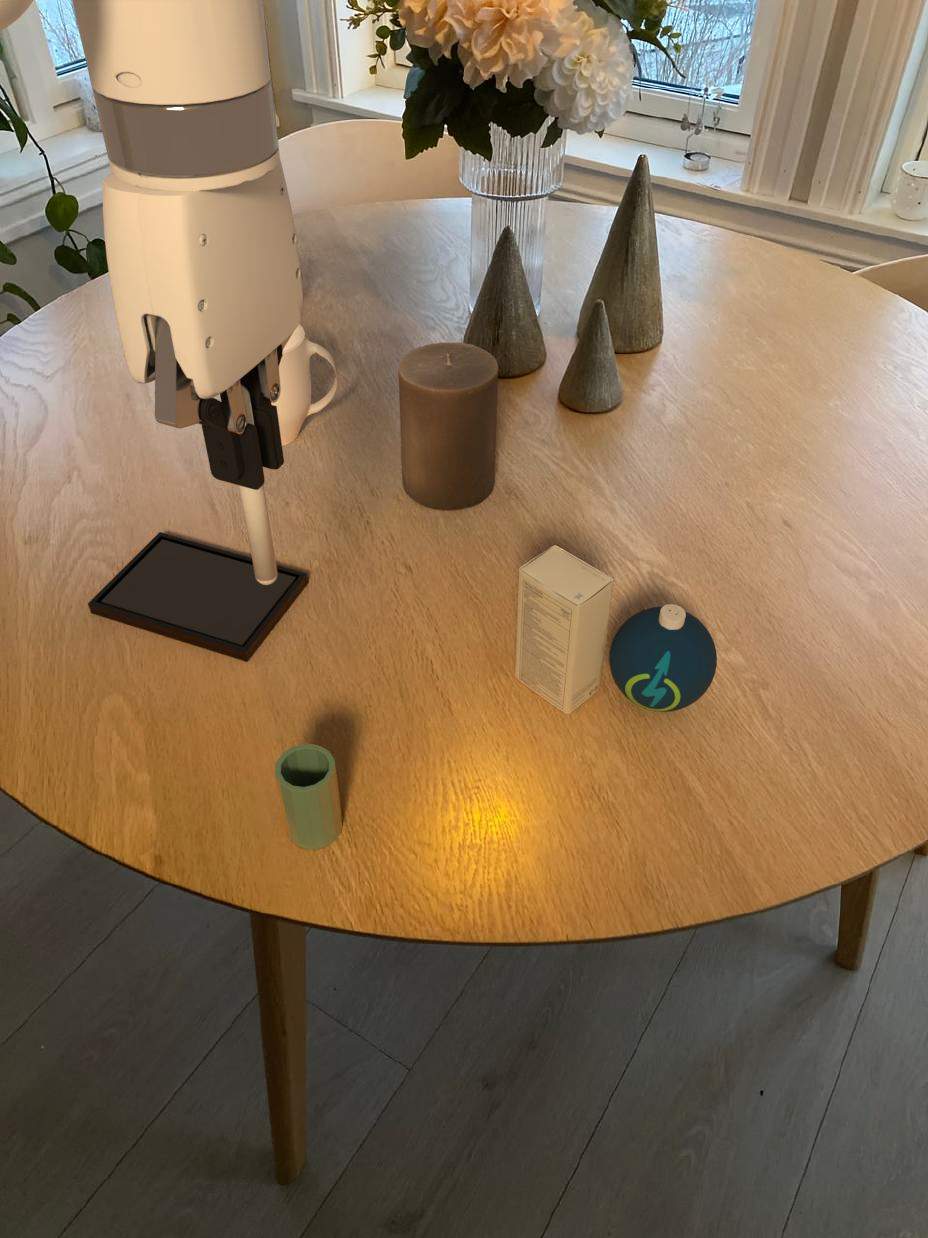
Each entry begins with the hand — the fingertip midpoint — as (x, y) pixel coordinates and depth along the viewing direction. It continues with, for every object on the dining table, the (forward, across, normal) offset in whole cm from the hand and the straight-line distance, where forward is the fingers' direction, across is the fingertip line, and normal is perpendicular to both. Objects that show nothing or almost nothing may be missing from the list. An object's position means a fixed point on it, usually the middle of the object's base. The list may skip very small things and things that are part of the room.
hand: (248, 470), depth 55 cm
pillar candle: (+27, -38, -4) cm, 47 cm away
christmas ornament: (+27, -18, +24) cm, 40 cm away
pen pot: (+27, +5, +4) cm, 28 cm away
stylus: (+9, 0, 0) cm, 9 cm away
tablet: (+27, -13, -17) cm, 35 cm away
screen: (+26, -13, -17) cm, 34 cm away
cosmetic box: (+27, -16, +16) cm, 35 cm away
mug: (+27, -40, -24) cm, 54 cm away
